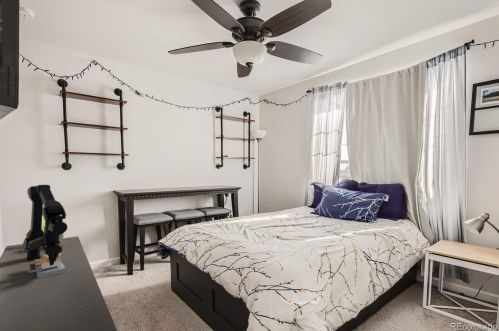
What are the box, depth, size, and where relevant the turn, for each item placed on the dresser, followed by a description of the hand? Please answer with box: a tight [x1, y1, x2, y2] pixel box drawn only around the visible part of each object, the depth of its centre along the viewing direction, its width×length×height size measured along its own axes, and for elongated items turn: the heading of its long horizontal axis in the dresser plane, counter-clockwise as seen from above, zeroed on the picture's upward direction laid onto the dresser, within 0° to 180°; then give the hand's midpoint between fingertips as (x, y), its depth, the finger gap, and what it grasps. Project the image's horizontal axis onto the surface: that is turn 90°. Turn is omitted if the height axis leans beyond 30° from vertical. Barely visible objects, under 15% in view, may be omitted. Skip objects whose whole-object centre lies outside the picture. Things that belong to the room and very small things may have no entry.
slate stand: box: [35, 261, 66, 279], centre depth 120 cm, size 10×10×2 cm
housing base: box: [41, 259, 62, 269], centre depth 120 cm, size 7×6×2 cm
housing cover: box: [40, 252, 62, 264], centre depth 120 cm, size 7×6×2 cm
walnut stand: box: [34, 259, 41, 269], centre depth 129 cm, size 10×10×2 cm
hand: (50, 263), depth 120 cm, fingers closed on housing base, housing cover, 5 cm apart
